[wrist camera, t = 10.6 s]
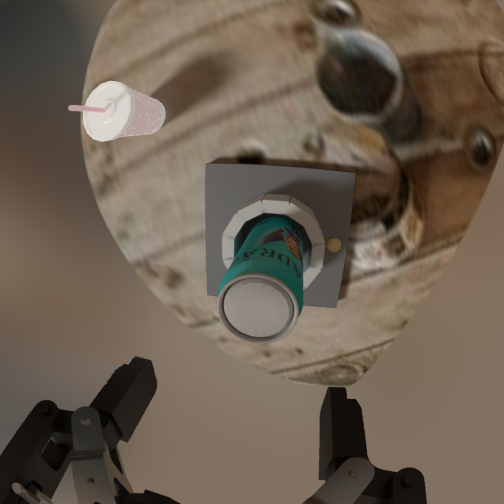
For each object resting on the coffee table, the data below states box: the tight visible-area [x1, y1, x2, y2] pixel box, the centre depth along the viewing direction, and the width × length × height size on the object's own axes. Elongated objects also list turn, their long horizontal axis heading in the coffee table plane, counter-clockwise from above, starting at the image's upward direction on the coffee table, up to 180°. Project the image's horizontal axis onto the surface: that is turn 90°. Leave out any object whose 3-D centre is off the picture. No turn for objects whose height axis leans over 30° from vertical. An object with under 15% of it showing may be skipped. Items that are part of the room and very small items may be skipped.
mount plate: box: [205, 163, 356, 308], centre depth 30 cm, size 16×16×6 cm
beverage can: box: [217, 217, 303, 344], centre depth 24 cm, size 6×6×15 cm
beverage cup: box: [68, 81, 165, 142], centre depth 23 cm, size 6×6×14 cm
